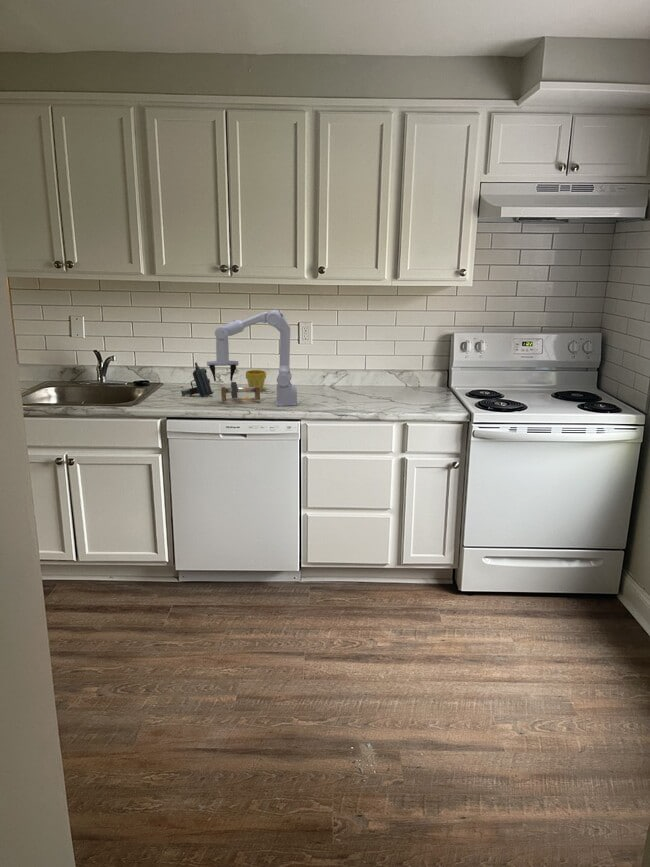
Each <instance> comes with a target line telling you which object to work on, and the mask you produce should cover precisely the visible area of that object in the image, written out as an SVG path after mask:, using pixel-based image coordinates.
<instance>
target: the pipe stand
mask: <svg viewBox="0 0 650 867" xmlns="http://www.w3.org/2000/svg"><path fill="white" fill-rule="evenodd" d="M253 392H254V397H237V398H232V397H231V398H229V397H228V398H227V393H228V394H229V393H232V388H231V387H225V386H220V394H221V396H220V397H221V400H220V401H221V404H222V405H239V404H242V405H243V404H260V403H261V391H260V387H259V386H255V387H249V386H240V387H239V386H237V393H253Z"/></svg>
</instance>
